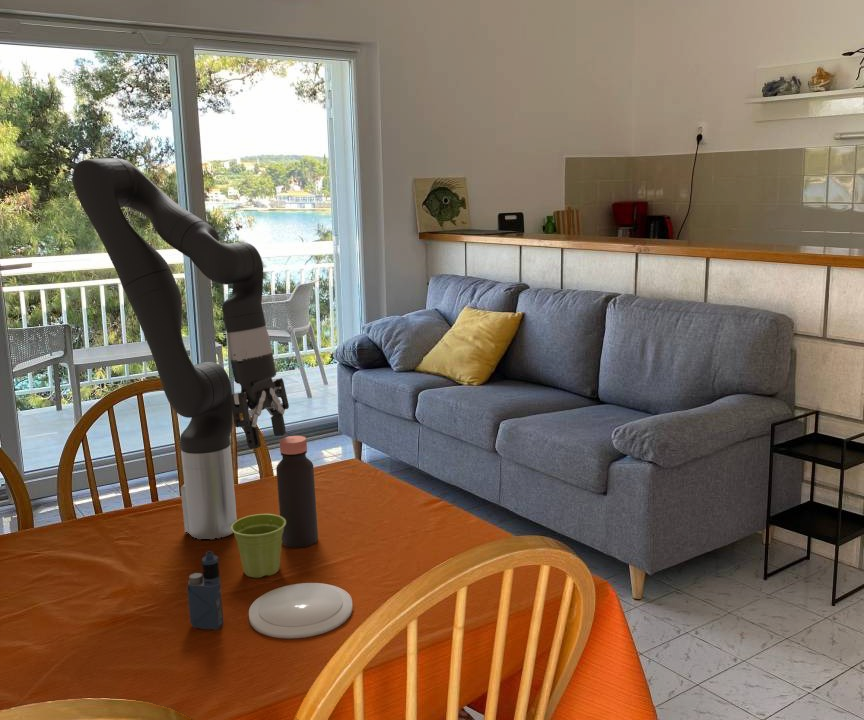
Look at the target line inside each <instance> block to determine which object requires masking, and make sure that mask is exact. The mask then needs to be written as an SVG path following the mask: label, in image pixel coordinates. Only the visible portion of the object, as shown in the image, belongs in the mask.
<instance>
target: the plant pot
mask: <svg viewBox="0 0 864 720" xmlns="http://www.w3.org/2000/svg"><path fill="white" fill-rule="evenodd" d="M285 525H286V520H285V519H284V518H283V517H281V516H280V515H278V514H273V513H258V514H251V515H246V516H244V517H241V518H239V519H237V521H235V522H234V523H233V524H232V525H231V531H232V532H233V533H232V534H234V538H235V539H236V542H237V546H238V552H239V556H240V560H241V561H240V562H241V564H242V569H243V572H244V574H245V575H246V576H247V577H250V578H257V579H259V578H262V577H265V576H273V575H274V574H276V573H277V572H278V571H280V567H281V550H282V534H283V531H284V527H285Z"/></svg>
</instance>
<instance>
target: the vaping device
mask: <svg viewBox="0 0 864 720" xmlns="http://www.w3.org/2000/svg"><path fill="white" fill-rule="evenodd" d="M201 564H202V565H201V566H202V567H201V568H202V573H201V572H194V573H191V574H189V576H188V579H189V580H188V582H187V585H186V591H187V600H188V601H187V602H188V603H187V604H188V611H189V622H190V624H191V627H192V626H193V627H194V628H193V627H192V628H193V629H196V628H201V629H200V630H210V629H213V630H215V631H216V630H219V629H220V628H222V627H223V626H224V614H223V603H222V601H223V600H222V590H223V589H222V586H221V584H222V583H221V579H220V565H219V557H218V556H217V555H215V554H214V551H213V550H212V551H210V550H209V551H206V552H205V556H203V557H202V559H201ZM213 630H212V631H213Z"/></svg>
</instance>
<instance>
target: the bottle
mask: <svg viewBox="0 0 864 720" xmlns="http://www.w3.org/2000/svg"><path fill="white" fill-rule="evenodd" d="M307 450H308V443H307V437H305V436H302V435H289V436H284V437H282V438H281V439H279V452H280V456H282V459H281V460H280V462H278V463H277V465H276V469H275V471H276V483H277V495H278V498H277V499H278V506H279V507H278V509H279V516H281V517H283V518H284V519H285V520H286V525H285V527H284V531H283V534H282V541H281V544H282V545H284V546H285V547H287V548H290V549H291V548H292V549H301V548H307V547H310V546H312V545H314V544H316V543H317V541H318V539H319V532H318V530H319V527H318V517H317V514H318V513H317V501H316V485H315V469H314V463H313V462H312V461H311V460H310V459H309V458H308V457H307V455H306V454H307V452H308V451H307Z"/></svg>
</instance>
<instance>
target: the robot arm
mask: <svg viewBox="0 0 864 720" xmlns="http://www.w3.org/2000/svg"><path fill="white" fill-rule="evenodd" d="M72 184H73V185H72V186H73V189H74V191H75V195H76V198H77V200H78V201H79V204H80V205H81V207H82V209H83V211H84V213H85V214H86V216H87V218H88V220H89V221H90V223H91V224H92V226H93V228H94V230H95V232H96V234H97V235H98V237H99V239H100V241H101V242H102V244H103V246H104V249H105V250H106V253H107V254H108V257H109V259H110V261H111V263H112V265H113V267H114V269H115V272H116V274H117V276H118V278H119V281H120V283H121V286H122V288H123V291H124V293H125V295H126V298H127V300H128V302H129V305H130V306H131V309H132V311H133V313H134V315H135V316H136V319H137V321H138V323H139V326H140V328H141V331H142V333H143V335H144V337H145V340H146V342H147V345H148V347H149V350H150V352H151V356H152V358H153V361H154V364H155V367H156V370H157V373H158V376H159V380H160V382H161V385H162V389H163V391H164V394H165V397H166V398H167V401H168V403H169V405H170V407H171V408H172V410H174V412H175V413H177V414H178V415H180V417H184V418H189V419H190V421H189V423H188V425H187V427H186V428H185V429H184V430H183V431H182V433H181V435H180V438H179V443H180V453H181V454H180V456H181V462H182V463H181V464H182V473H183V482H184V483H183V485H181V487H180V495H181V504H182V516H183V526H184V533H185V532H188V533H189V534H190V535H191V536H192V537H194V538H193V539H195V538H197V539H196V540H201V539H210V540H216V539H215V538H217V539H221V537H222V538H224V537H227V536H230V535H232V534H234V533H233V532H232V531H231V525H232V524H233V523H234V522H235V521H237V520H238V519H237V518H238V517H237V506H236V494H235V481H234V472H233V459H232V449H231V434H232V430H233V426H235V428H242V429H243V430H244V434H245V440H246V444H247V446H248V448H249V450H250V449H252V450H253V449H258V448H260V447H261V446H262V444H261V439H260V433H259V428H258V426H257V423H258V418H259V417H260V416H261V415H262V412H263V410H266V411H267V412H268V414H269V415H270V421H271V425H272V431H273V435H274V436H275V437H280V436H281V437H283V436H285V435H286V432H287V431H286V425H285V420H284V415H285V410H288V409H289V408H290V407H289V406H290V405H289V400H288V395H287V391H286V387H285V382H284V379H283V378H282V377H280V378H275V377H276V375H277V370H276V364H275V360H274V355H273V354H274V353H273V349H272V343H271V338H270V335H269V332H268V329H267V326H266V319H265V315H264V309H263V304H262V303H263V302H262V301H263V292H264V291H263V289H264V265H263V260H262V259H263V258H262V256H261V254H260V252H259V250H258V249H257V248H256V247H255V246H254V245H253V244H251V243H248V242H233V243H223V242H220V237H219V233H218V231H217V230H216V229H215V228H214V227H213V226H212V225H211V224H209V223H207V222H206V221H204V220H203V219H202V218H200V217H198V216H197V215H195V214H193V213H192V212H190V211H188V210H187V209H186V208H184V207H182V206H181V205H180V204H178V203H177V202H175V201H174V200H173V199H172V198H170V197H169V196H168V195H167V194H166V193H165V192H164V191H163V190H162V189H160V188H159V187H158V186H157V185H156V184H155V183H154V182H153V181H152V180H151V179H149V178H148V177H147V176H146V175H145V174H144V173H143V172H142V171H141V170H140V169H139V168H137V167H136V166H135V165H133V164H132V163H131V162H130V161H128V160H126V159H122V158H117V157H115V158H113V157H111V158H110V157H108V158H106V157H105V158H88V159H87V158H86V159H82V160H80V161H78V163H77V164H76V165H75V166H74V169H73V172H72ZM124 207H126V208H128V209H131V210H134V211H136V212H139V213H141V214H142V215H144V216H145V217H147V218H148V220H149V221H151V223H152V226H153V227H154V230H155V231H156V233H157V234H158V236H159V237H160V238H161V240H163V241H164V242H165V243H166V244H168V245H169V246H170V247H172V248H173V249H175V250H177V252H179V253H181V254H183V255H184V256H186V257H187V258H189V259H190V261H192V263H193V264H194V265H195V266H196V267H197V268H198V270H199V271H200V272H201V273H202V274H203V275H204V276H205V277H206V278H207V279H209V280H210V281H212V282H214V283H215V284H218V285H232V294H231V296H230V298H228V299H226V300H225V301H224V302H223V303H222V305H221V306H222V307H221V308H222V309H221V310H222V317H223V321H224V327H225V331H226V338H227V339H226V340H227V341H226V342H227V350H228V354H229V358H230V359H229V360H230V364H231V370H232V375H233V380H234V382H235V384H237V385H238V384H239V385H240V392H235V393H233V391H232V385H231V384H232V383H231V381H230V377H229V374H228V373H227V371H226V370H225V368H224V367H223V366H221V364H219V363H216V362H213V361H205V362H204V361H203V362H199V363H196V364H193V362H192V360H191V358H190V356H189V354H188V352H187V349H186V346H185V344H184V343H185V342H184V340H183V333H182V322H183V320H182V319H183V318H182V317H183V299H182V295H181V291H180V288H179V286H178V284H177V281H176V278H175V277H174V274H173V272H172V270H171V267H170V266H169V264H168V262H167V261H166V260H165V259H164V257H163V255H162V254H160V252H159V251H157V250H156V249H155V247H153V246H152V245H151V244H149V242H147V240H146V239H144V238H143V237H142V236H141V234H139V233H138V232H137V231H136V230H135V229H134V228H133V227H132V226H131V223H130V222H129V221H128V220H127V217H126V216H125V213H124V211H123V209H122V208H124ZM279 398H280V399H281V400H280V399H279ZM240 414H241V415H242V417H241V416H240ZM188 533H187V534H188ZM189 534H188V535H189ZM190 535H189V536H190ZM191 536H190V537H191ZM192 537H191V538H192Z"/></svg>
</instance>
